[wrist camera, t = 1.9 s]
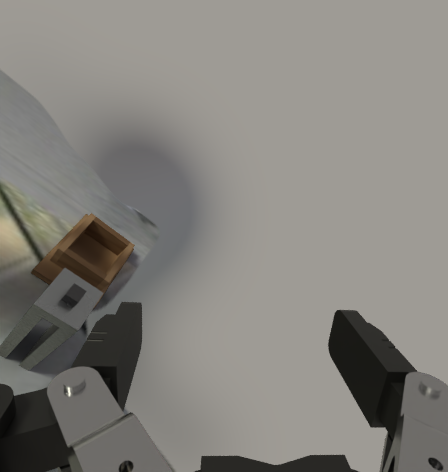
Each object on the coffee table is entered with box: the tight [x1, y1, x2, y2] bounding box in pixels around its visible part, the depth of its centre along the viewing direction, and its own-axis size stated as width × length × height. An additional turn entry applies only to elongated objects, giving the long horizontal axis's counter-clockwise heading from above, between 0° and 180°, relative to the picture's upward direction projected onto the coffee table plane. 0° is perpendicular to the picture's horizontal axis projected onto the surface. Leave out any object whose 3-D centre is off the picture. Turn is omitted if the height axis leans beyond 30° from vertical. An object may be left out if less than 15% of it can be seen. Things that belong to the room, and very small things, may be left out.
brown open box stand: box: [31, 213, 135, 309], centre depth 44 cm, size 12×9×5 cm
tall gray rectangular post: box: [0, 268, 103, 371], centre depth 30 cm, size 4×4×17 cm
